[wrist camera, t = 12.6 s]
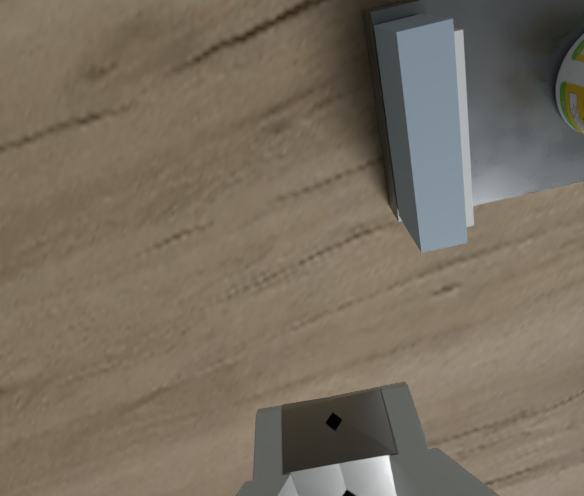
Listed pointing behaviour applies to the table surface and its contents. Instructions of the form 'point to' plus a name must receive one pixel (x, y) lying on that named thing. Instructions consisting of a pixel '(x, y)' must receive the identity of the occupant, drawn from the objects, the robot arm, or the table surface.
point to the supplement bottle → (572, 87)
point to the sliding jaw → (427, 127)
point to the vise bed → (502, 91)
